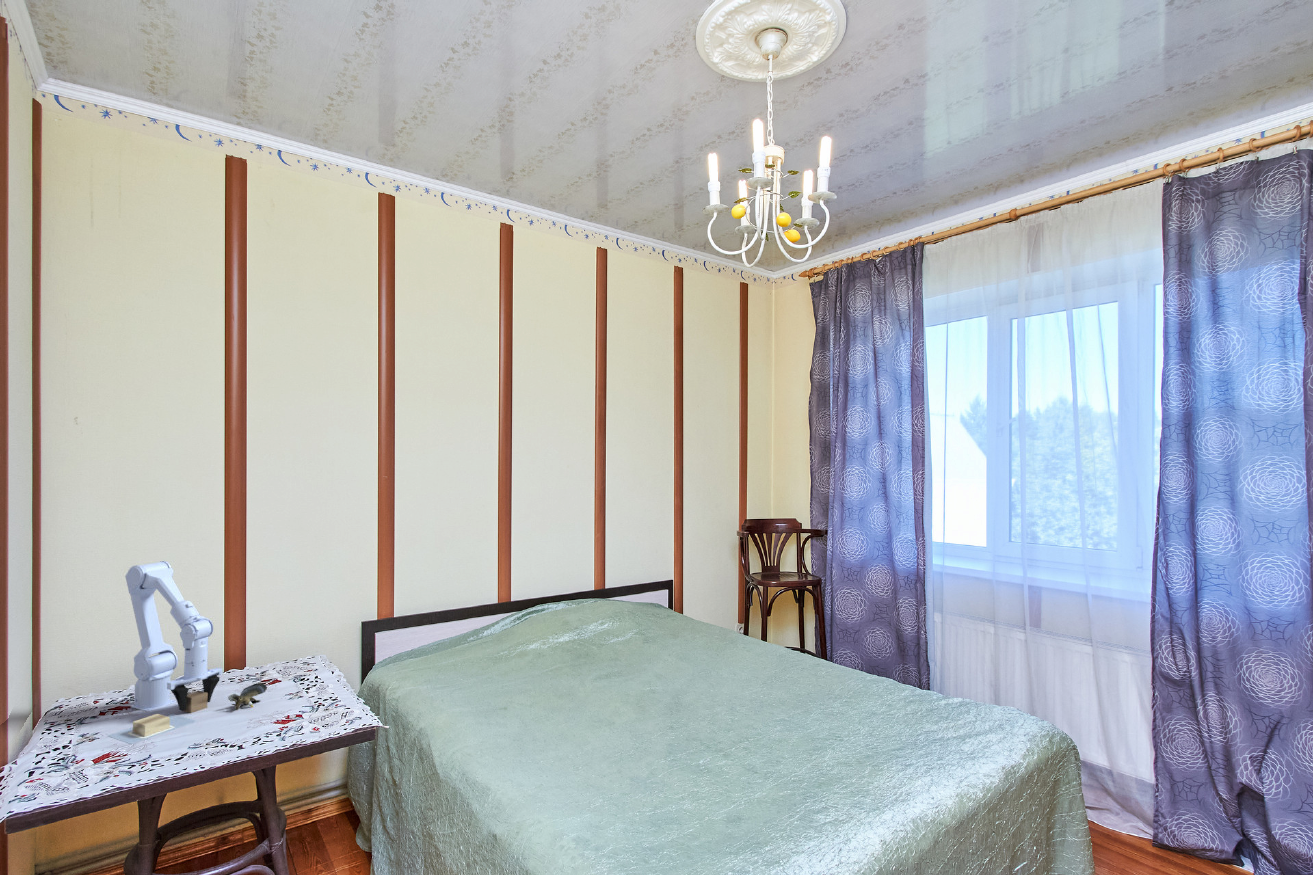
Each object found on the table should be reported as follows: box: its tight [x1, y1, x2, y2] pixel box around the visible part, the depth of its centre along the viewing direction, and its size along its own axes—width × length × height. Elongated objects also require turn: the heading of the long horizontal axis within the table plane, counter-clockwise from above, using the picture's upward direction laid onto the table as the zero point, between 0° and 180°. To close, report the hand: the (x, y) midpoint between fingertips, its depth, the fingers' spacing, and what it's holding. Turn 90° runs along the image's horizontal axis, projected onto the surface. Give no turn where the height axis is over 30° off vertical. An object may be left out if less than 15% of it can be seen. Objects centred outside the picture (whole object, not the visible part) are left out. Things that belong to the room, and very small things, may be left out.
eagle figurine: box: [227, 682, 268, 711], centre depth 192 cm, size 8×7×9 cm
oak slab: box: [132, 713, 170, 737], centre depth 174 cm, size 6×6×3 cm
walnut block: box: [183, 690, 208, 714], centre depth 189 cm, size 4×4×5 cm
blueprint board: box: [107, 713, 197, 745], centre depth 176 cm, size 12×16×1 cm
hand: (194, 705), depth 189 cm, fingers open, 6 cm apart
